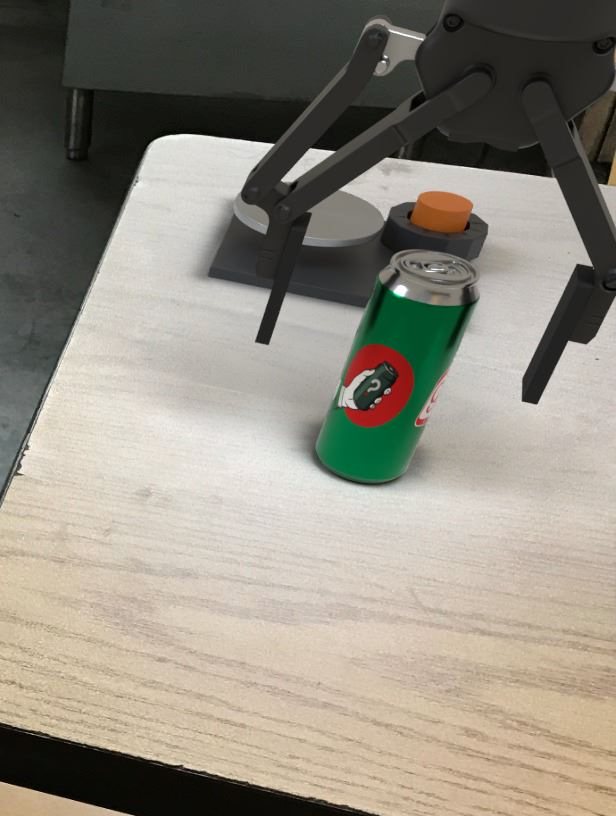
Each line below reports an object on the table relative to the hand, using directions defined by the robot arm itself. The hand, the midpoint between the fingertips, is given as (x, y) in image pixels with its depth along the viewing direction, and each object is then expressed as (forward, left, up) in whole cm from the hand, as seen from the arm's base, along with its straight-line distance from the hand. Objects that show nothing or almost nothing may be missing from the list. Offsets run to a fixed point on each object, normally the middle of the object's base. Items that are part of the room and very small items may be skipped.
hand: (393, 362), depth 74 cm
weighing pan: (+7, -26, -3) cm, 27 cm away
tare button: (-2, -30, -3) cm, 30 cm away
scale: (+4, -26, -7) cm, 27 cm away
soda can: (0, 0, -7) cm, 7 cm away
